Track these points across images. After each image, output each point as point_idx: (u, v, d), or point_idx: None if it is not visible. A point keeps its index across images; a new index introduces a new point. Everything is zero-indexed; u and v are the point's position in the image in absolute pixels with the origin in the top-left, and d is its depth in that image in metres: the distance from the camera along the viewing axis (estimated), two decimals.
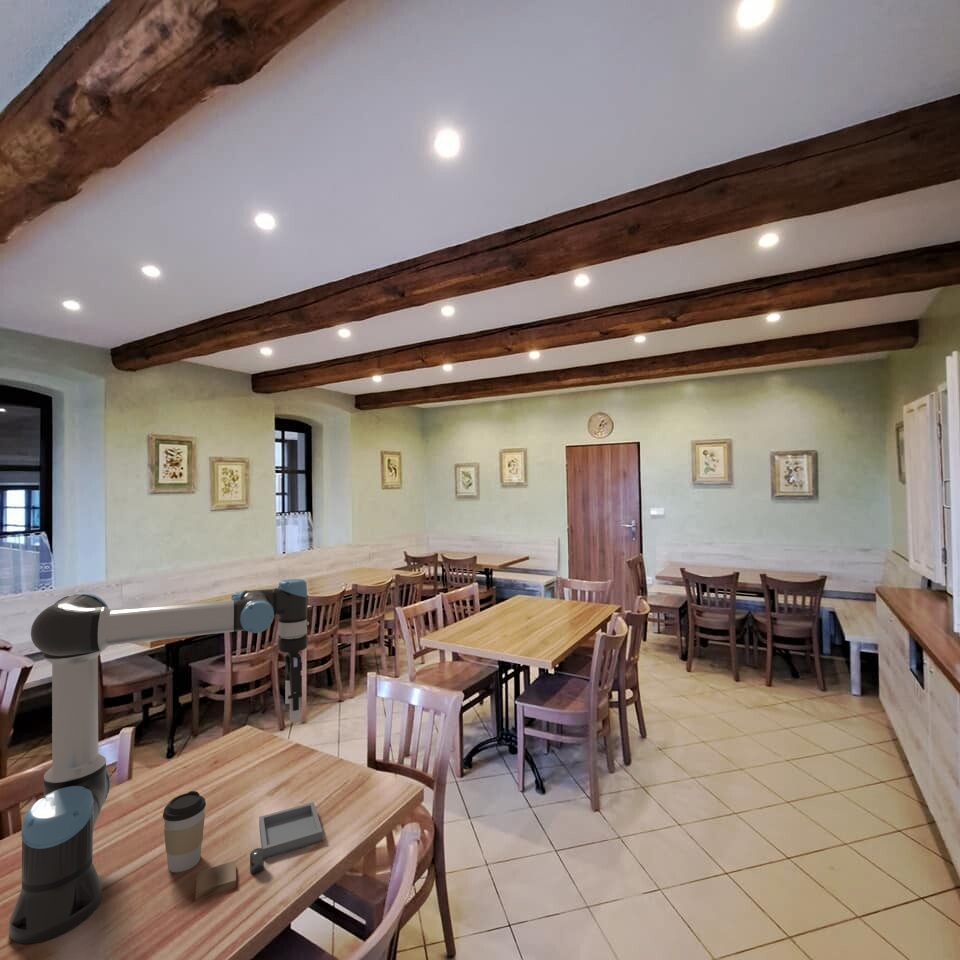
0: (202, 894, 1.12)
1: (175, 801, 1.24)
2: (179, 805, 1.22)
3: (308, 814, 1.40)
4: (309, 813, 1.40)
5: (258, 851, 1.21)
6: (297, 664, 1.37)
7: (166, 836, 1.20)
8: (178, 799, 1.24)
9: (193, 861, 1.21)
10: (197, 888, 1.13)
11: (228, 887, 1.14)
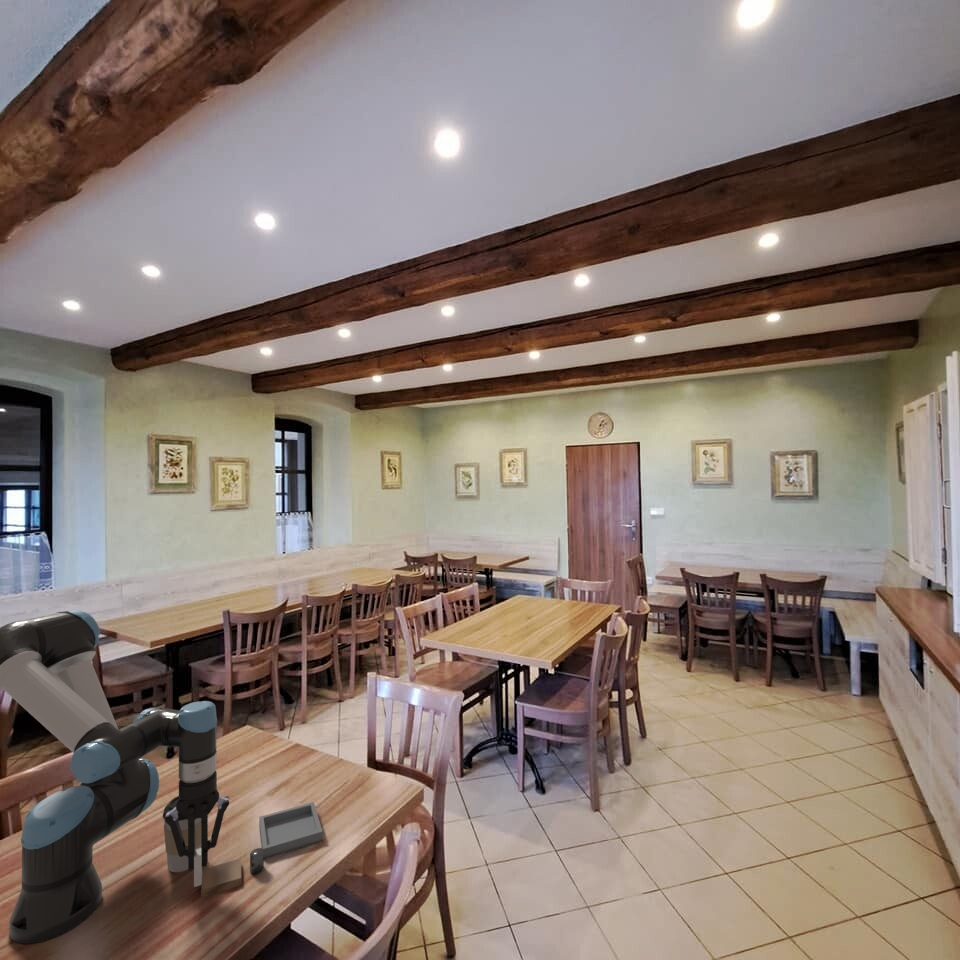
0: (208, 892, 1.13)
1: (175, 801, 1.24)
2: None
3: (308, 814, 1.40)
4: (309, 813, 1.40)
5: (258, 851, 1.21)
6: None
7: (166, 836, 1.20)
8: (178, 799, 1.24)
9: None
10: (203, 885, 1.13)
11: (233, 885, 1.15)
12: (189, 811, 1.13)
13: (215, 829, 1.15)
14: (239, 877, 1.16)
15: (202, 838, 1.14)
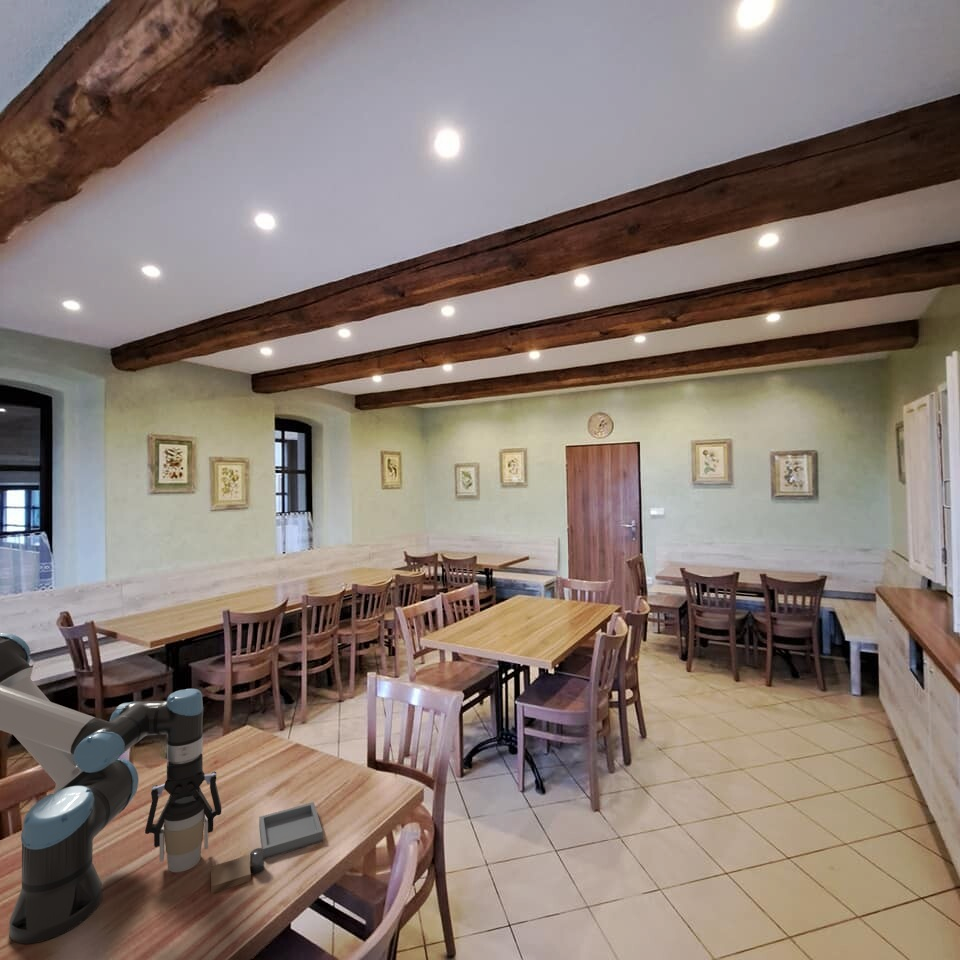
0: (217, 888, 1.14)
1: (175, 801, 1.24)
2: (179, 805, 1.22)
3: (308, 814, 1.40)
4: (309, 813, 1.40)
5: (258, 851, 1.21)
6: None
7: (166, 836, 1.20)
8: (178, 799, 1.24)
9: (193, 861, 1.21)
10: (212, 882, 1.14)
11: (243, 881, 1.16)
12: (176, 789, 1.21)
13: (214, 800, 1.25)
14: (248, 873, 1.17)
15: None
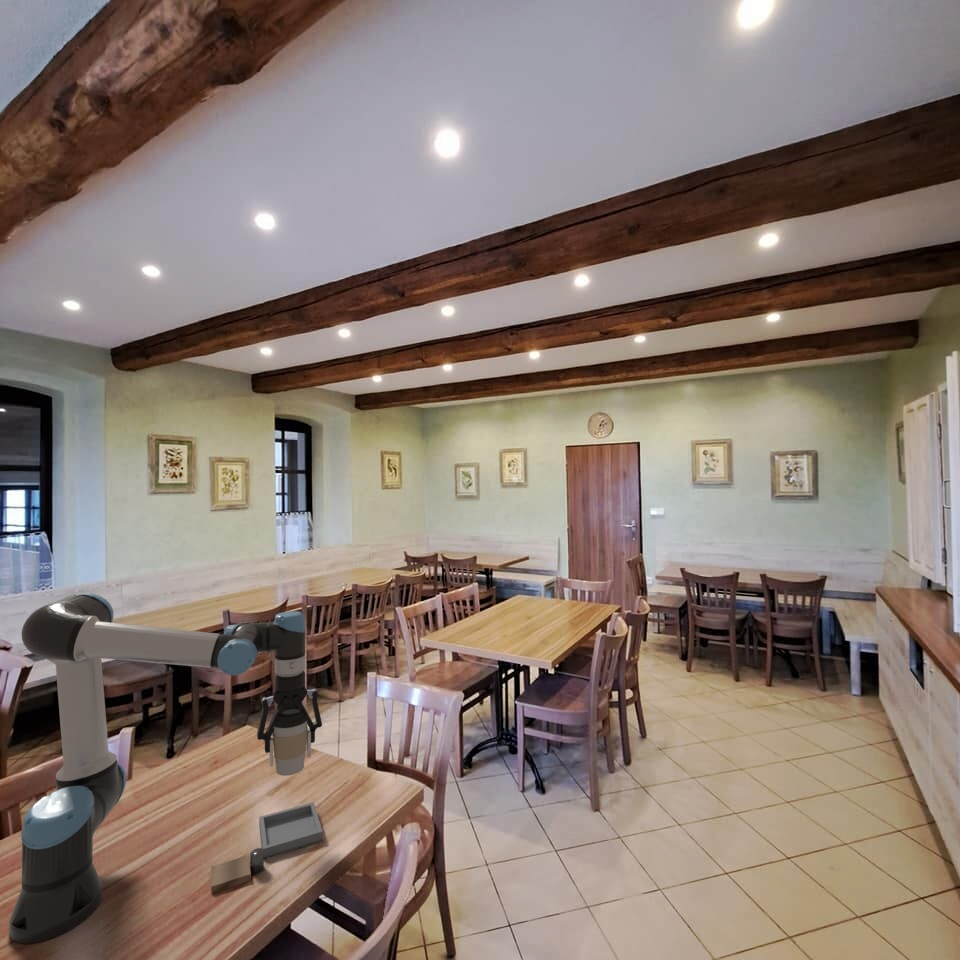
0: (218, 888, 1.14)
1: None
2: (286, 715, 1.32)
3: (308, 814, 1.40)
4: (309, 813, 1.40)
5: (258, 851, 1.21)
6: (263, 705, 1.31)
7: (276, 742, 1.30)
8: (283, 711, 1.35)
9: (299, 766, 1.32)
10: (212, 882, 1.14)
11: (243, 881, 1.16)
12: (284, 701, 1.31)
13: (315, 713, 1.36)
14: (248, 873, 1.17)
15: (307, 721, 1.35)
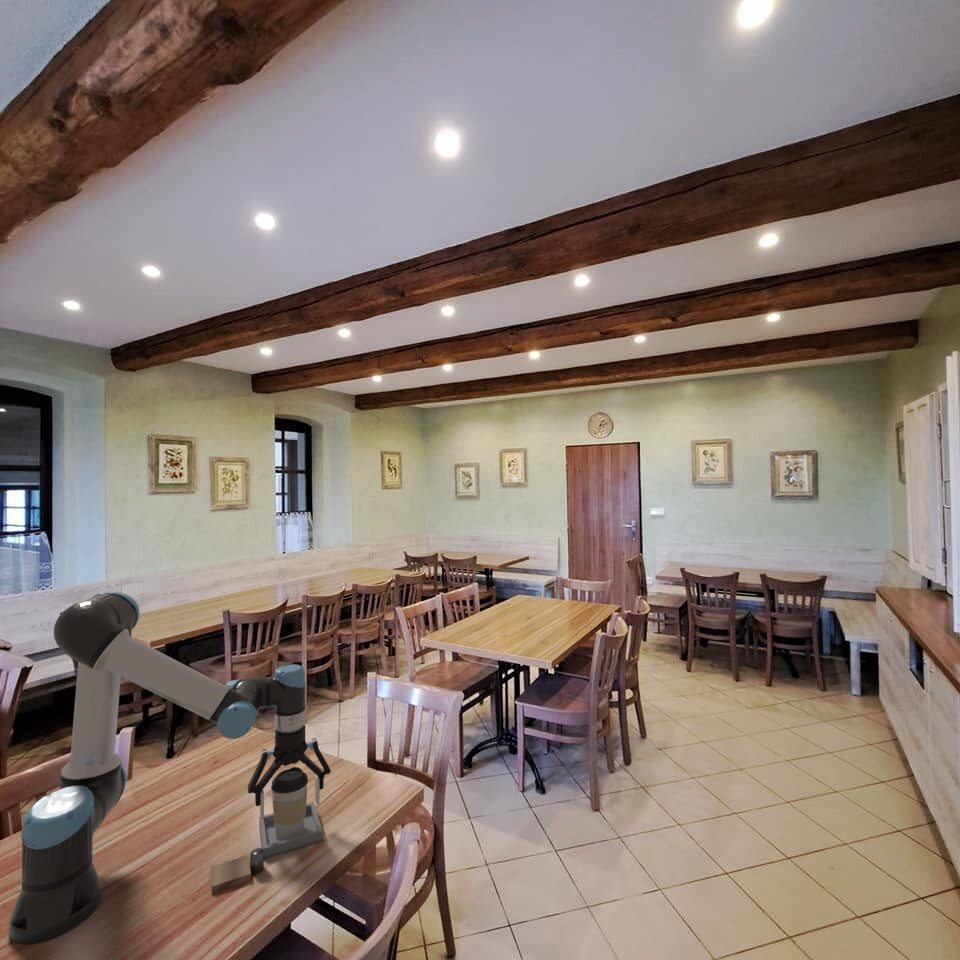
0: (218, 888, 1.14)
1: (281, 776, 1.33)
2: (286, 779, 1.32)
3: (308, 814, 1.40)
4: (309, 813, 1.40)
5: (258, 851, 1.21)
6: (262, 758, 1.30)
7: (276, 807, 1.30)
8: (283, 774, 1.34)
9: (299, 831, 1.31)
10: (212, 882, 1.14)
11: (243, 881, 1.16)
12: (284, 756, 1.31)
13: (321, 762, 1.36)
14: (248, 873, 1.17)
15: (313, 770, 1.35)
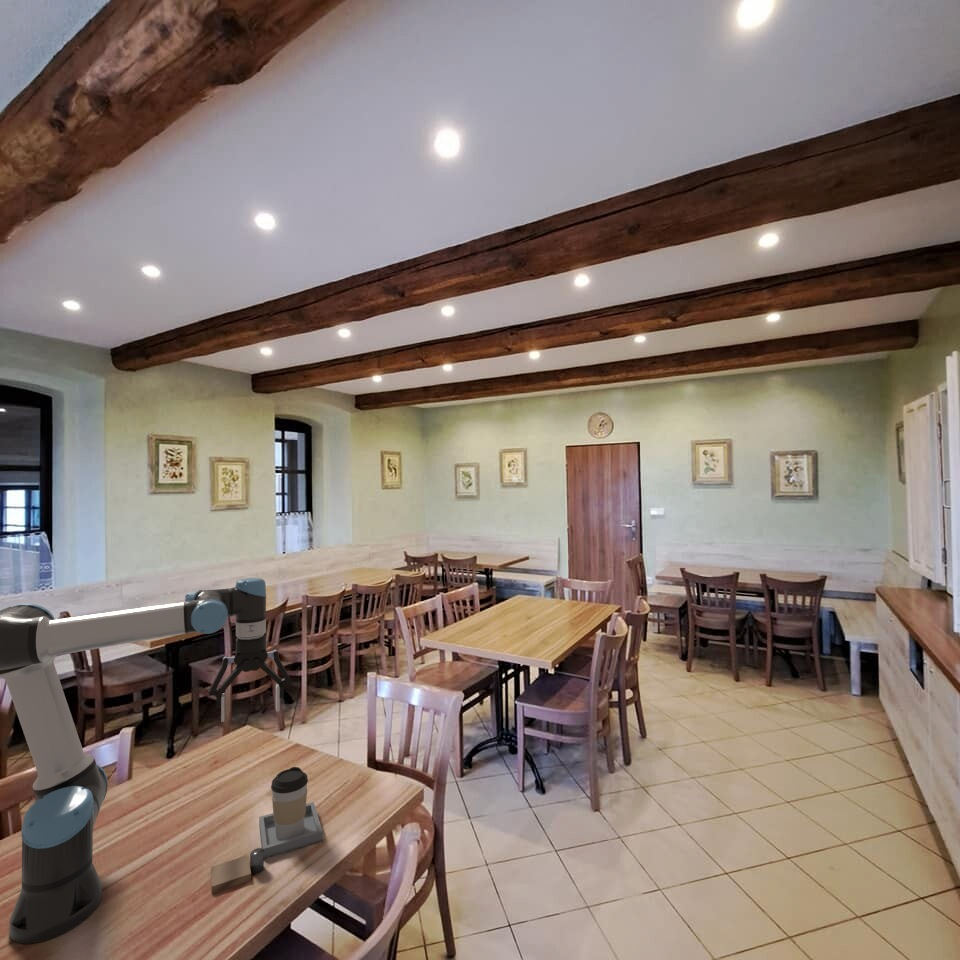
0: (218, 888, 1.14)
1: (280, 776, 1.33)
2: (285, 779, 1.32)
3: (308, 814, 1.40)
4: (309, 813, 1.40)
5: (258, 851, 1.21)
6: (222, 663, 1.36)
7: (275, 807, 1.30)
8: (283, 774, 1.34)
9: (299, 831, 1.31)
10: (213, 882, 1.14)
11: (243, 881, 1.16)
12: (244, 662, 1.37)
13: (281, 671, 1.41)
14: (249, 873, 1.17)
15: (273, 678, 1.40)
